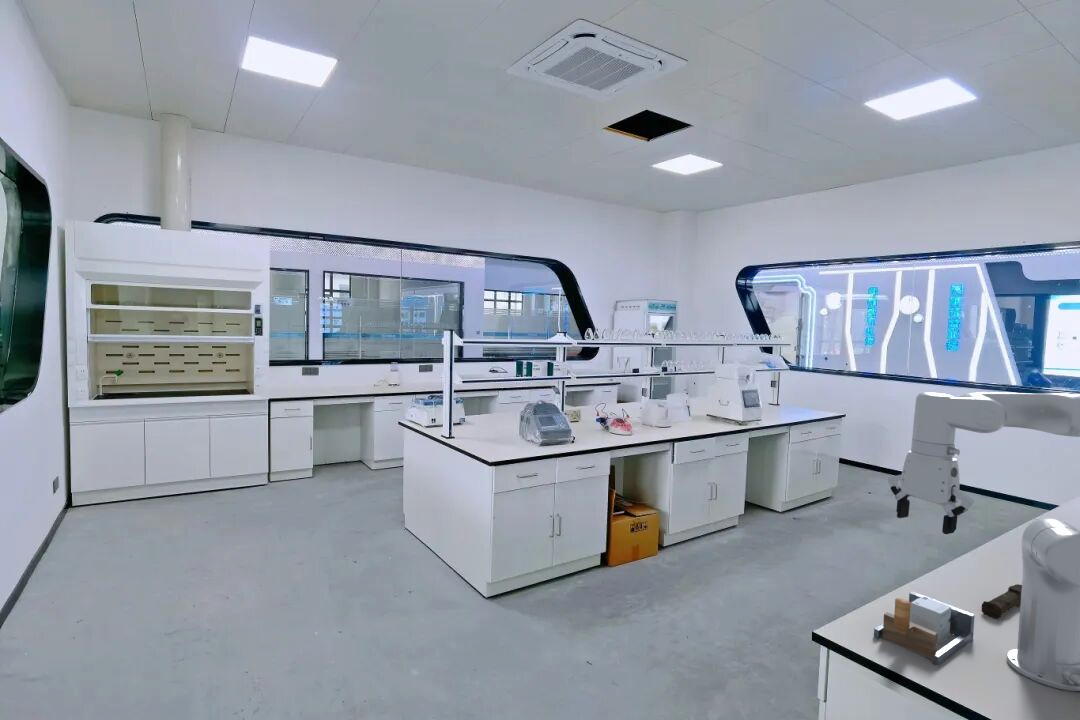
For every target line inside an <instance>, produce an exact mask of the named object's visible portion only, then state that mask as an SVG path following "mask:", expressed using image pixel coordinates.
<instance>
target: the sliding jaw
mask: <svg viewBox="0 0 1080 720" xmlns="http://www.w3.org/2000/svg"><path fill="white" fill-rule="evenodd" d="M910 609H911V603H910V602H909V599H905V598H899V597H898V598H895V600H894V614H892V613H891V612H888V611H887V612H885V613H884V614H883V623H882V624H883V637H882V638H883V639H885V640H888V641H890V642H892V643H894V644H896V645H898V646H900V647H903V648H906V649H908V650H910V651H912V652H914V653H917V654H918V655H921V656H923V657H926V658H928V659H930V660H932V661H933V654H934V653H936V652H937V651H938V650H937V647H938V644H937V636H938V633H936V632H934V631H932V630H929V629H927V628H924V627H922V626H920V625H917V624H915V623H912V622H910Z"/></svg>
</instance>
